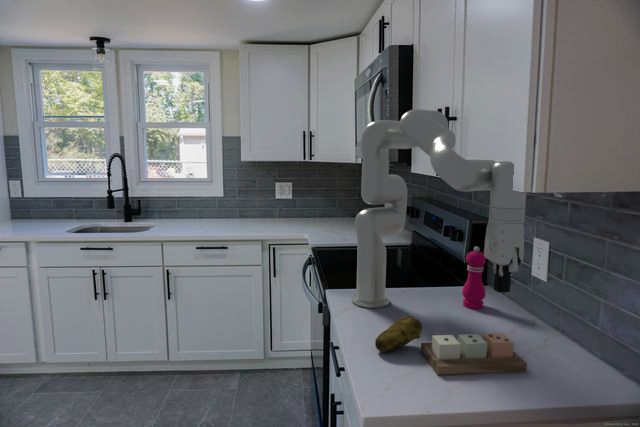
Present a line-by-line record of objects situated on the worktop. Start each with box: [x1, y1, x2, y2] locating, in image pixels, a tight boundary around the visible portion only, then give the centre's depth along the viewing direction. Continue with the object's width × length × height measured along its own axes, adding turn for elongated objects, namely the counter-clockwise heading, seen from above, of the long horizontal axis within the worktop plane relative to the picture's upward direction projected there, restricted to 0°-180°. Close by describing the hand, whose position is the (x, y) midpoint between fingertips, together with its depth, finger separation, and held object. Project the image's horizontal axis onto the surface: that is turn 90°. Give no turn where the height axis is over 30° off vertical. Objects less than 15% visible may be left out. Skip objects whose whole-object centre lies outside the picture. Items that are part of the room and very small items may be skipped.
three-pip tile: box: [482, 333, 515, 358], centre depth 103 cm, size 5×5×4 cm
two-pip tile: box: [457, 333, 487, 359], centre depth 102 cm, size 5×5×4 cm
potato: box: [375, 315, 423, 353], centre depth 109 cm, size 8×13×8 cm, turn 98°
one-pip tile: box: [431, 334, 461, 360], centre depth 102 cm, size 5×5×4 cm
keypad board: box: [420, 341, 528, 377], centre depth 103 cm, size 12×21×2 cm, turn 95°
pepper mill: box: [461, 246, 487, 310], centre depth 138 cm, size 7×7×20 cm
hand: (501, 291), depth 101 cm, fingers closed
